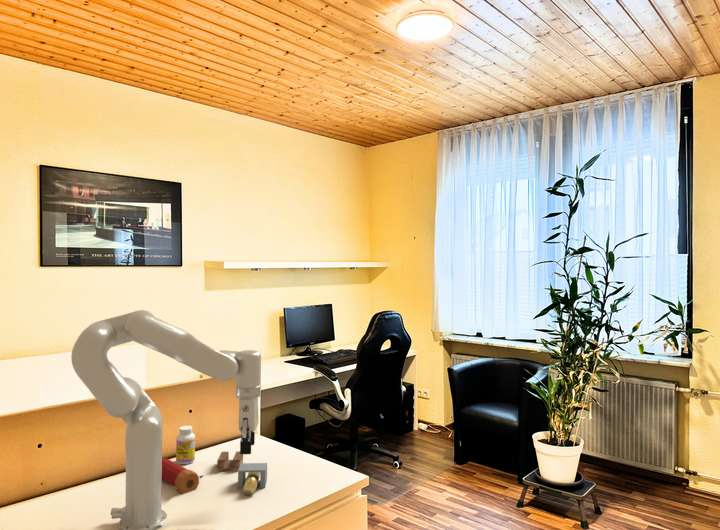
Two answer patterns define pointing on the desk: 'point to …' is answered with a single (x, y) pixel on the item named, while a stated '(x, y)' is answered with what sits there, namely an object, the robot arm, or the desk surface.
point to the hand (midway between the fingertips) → (247, 448)
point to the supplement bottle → (185, 445)
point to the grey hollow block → (252, 468)
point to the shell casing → (179, 476)
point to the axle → (251, 483)
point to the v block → (229, 462)
